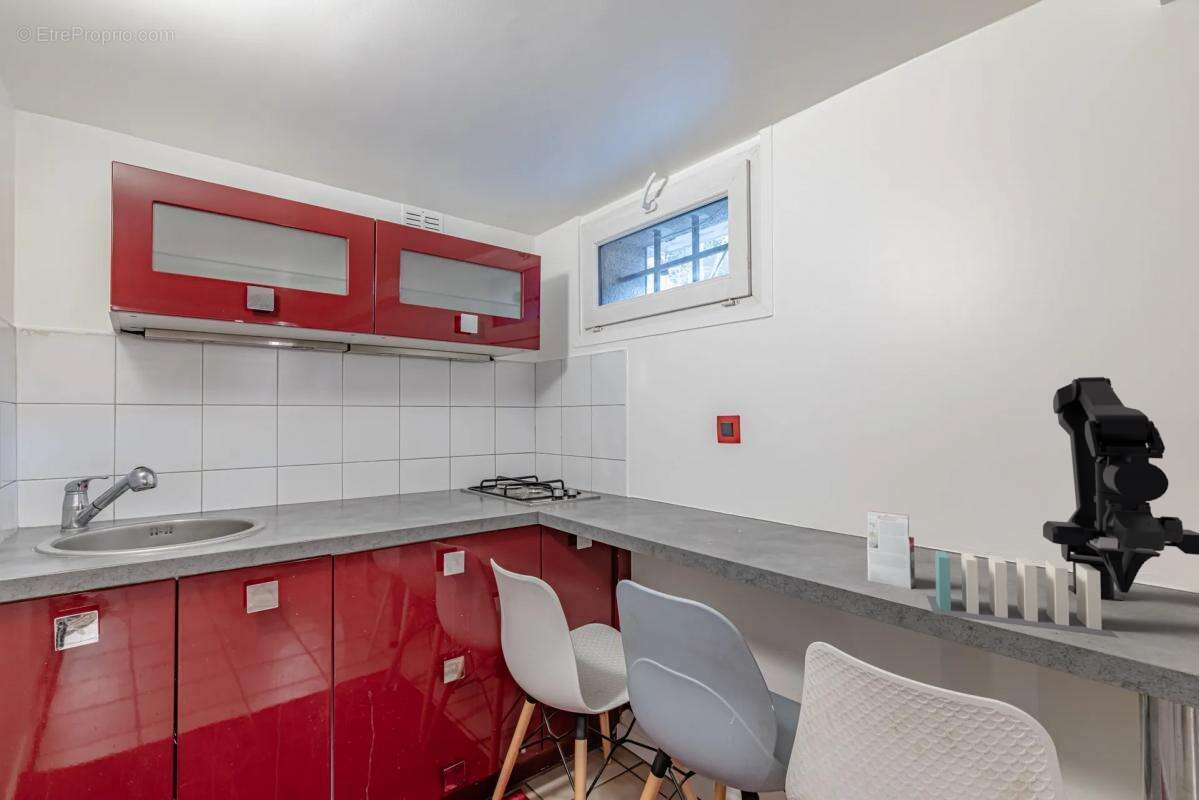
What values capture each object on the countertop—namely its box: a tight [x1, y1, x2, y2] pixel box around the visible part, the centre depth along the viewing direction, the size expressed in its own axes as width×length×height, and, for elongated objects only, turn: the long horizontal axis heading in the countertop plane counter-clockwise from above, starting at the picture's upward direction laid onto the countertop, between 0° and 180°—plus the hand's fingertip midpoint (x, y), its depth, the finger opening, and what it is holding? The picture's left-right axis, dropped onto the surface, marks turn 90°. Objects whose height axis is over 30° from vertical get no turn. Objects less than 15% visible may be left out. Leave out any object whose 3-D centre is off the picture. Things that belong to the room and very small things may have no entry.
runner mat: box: [926, 595, 1120, 639], centre depth 92 cm, size 10×24×1 cm, turn 65°
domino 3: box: [987, 554, 1009, 618], centre depth 93 cm, size 2×5×9 cm, turn 155°
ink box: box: [866, 510, 916, 590], centre depth 109 cm, size 4×8×15 cm, turn 47°
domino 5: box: [1045, 559, 1070, 626], centre depth 90 cm, size 2×5×9 cm, turn 155°
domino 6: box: [1075, 563, 1102, 630], centre depth 88 cm, size 2×5×9 cm, turn 155°
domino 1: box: [934, 550, 952, 611], centre depth 96 cm, size 2×5×9 cm, turn 155°
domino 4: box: [1016, 557, 1039, 622], centre depth 91 cm, size 2×5×9 cm, turn 155°
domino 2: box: [960, 552, 980, 614], centre depth 95 cm, size 2×5×9 cm, turn 155°
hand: (1123, 591), depth 86 cm, fingers closed
